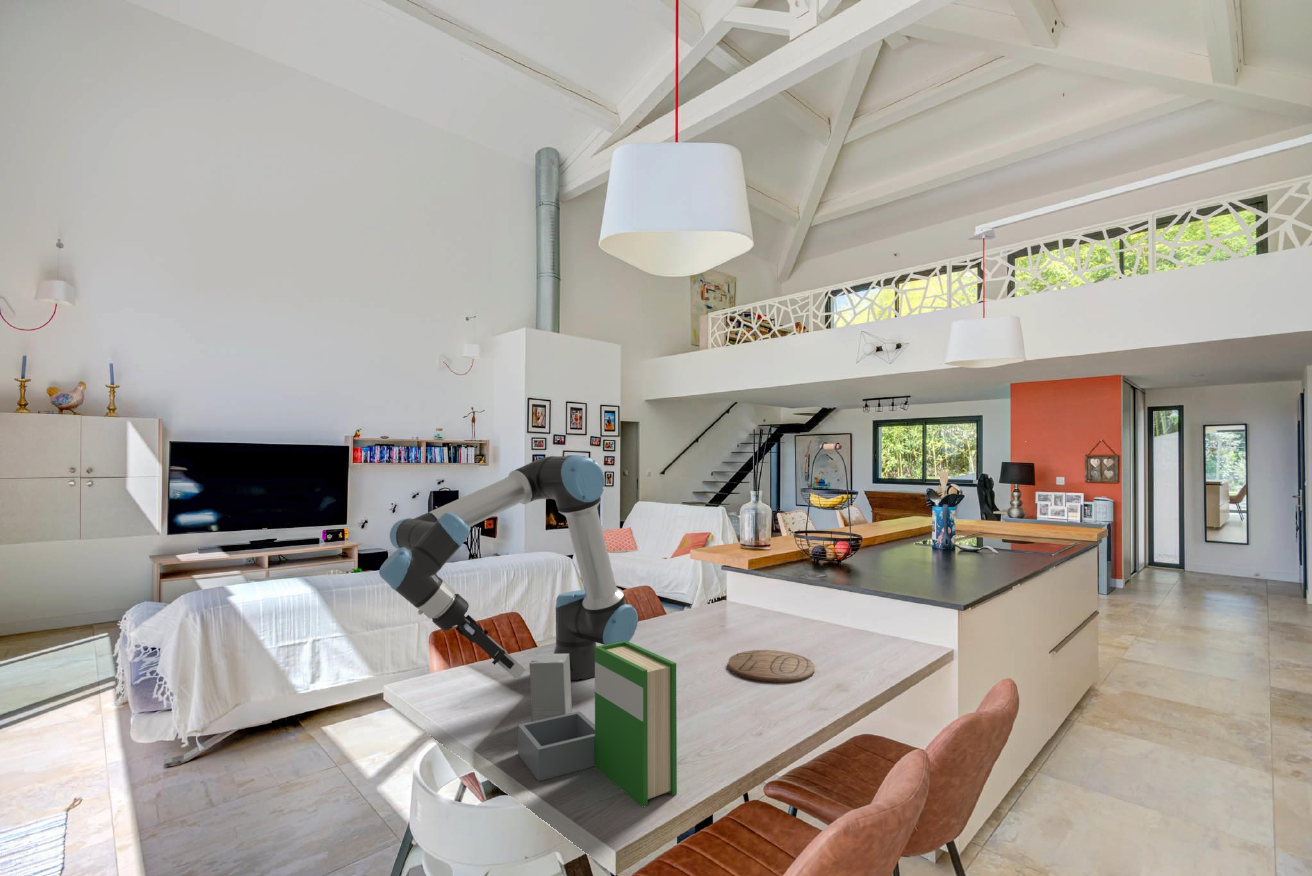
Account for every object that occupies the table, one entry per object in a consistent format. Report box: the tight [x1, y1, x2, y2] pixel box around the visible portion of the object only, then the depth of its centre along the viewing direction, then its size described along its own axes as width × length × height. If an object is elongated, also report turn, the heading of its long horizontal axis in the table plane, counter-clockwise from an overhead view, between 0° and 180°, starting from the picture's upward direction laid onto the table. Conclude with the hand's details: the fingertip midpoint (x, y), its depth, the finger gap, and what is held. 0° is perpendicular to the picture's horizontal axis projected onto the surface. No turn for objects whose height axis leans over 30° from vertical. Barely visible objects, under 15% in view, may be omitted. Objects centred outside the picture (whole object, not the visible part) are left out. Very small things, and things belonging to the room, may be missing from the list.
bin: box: [517, 711, 595, 782], centre depth 130 cm, size 13×14×6 cm
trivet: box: [727, 649, 815, 684], centre depth 185 cm, size 25×25×2 cm
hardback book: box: [594, 641, 678, 808], centre depth 121 cm, size 18×7×24 cm, turn 35°
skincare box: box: [528, 653, 573, 722], centre depth 146 cm, size 8×7×16 cm
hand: (512, 665), depth 141 cm, fingers open, 13 cm apart
